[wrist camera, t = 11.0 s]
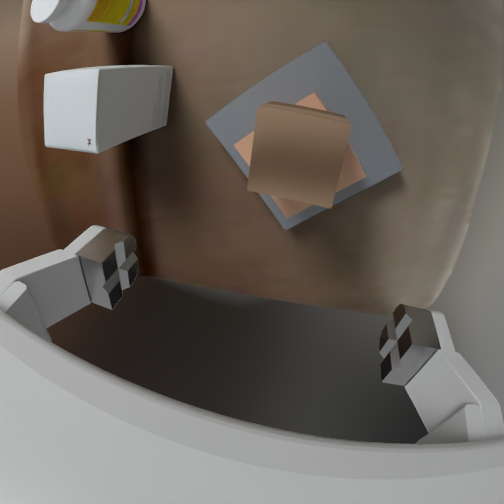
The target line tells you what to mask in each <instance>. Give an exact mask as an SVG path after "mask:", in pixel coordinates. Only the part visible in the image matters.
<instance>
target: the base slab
mask: <svg viewBox="0 0 504 504" xmlns="http://www.w3.org/2000/svg"><path fill="white" fill-rule="evenodd" d="M314 91H317V93H318V94H319V96H320V97H321V98H322V100H323V101H324V103H325V104H326V106H327V107H328V109H329V110H330V112H333V113H337V114H341V115H345V117H346V118H347V120H348V121H349V122H350V124H351V129H350V134H349V138H348V140H349V142H350V144H351V145H352V147H353V149H354V150H355V152H356V154H357V156H358V158H359V160H360V163H361V165H362V167H363V170H364V172H365V174H366V177H365V178H363V179H361V180H359V181H357V182H355V183H353V184H352V185H350V186H348V187H346V188H344V189H342V190H340V191H338V192H336V193H335V197H334V200H333V204H332V206H334V205H336V204H338V203H339V202H341V201H343V200H345V199H347V198H349V197H351V196H353V195H355V194H357V193H359V192H361V191H363V190H365V189H367V188H368V187H370V186H372V185H374V184H376V183H378V182H380V181H382V180H384V179H386V178H388V177H390V176H392V175H394V174H396V173H398V172H399V171H401V170H403V169H404V168H403V166H402V164H401V162H400V160H399V158H398V156H397V154H396V152H395V150H394V148H393V146H392V144H391V143H390V141H389V139H388V137H387V135H386V133H385V131H384V130H383V128H382V126H381V124H380V123H379V121H378V119H377V117H376V116H375V114H374V112H373V110H372V109H371V107H370V106H369V104H368V102H367V101H366V99H365V97H364V96H363V94H362V93H361V91H360V90H359V88H358V86H357V85H356V83H355V82H354V80H353V79H352V77H351V76H350V74H349V73H348V71H347V70H346V69H345V67H344V66H343V64H342V63H341V61H340V60H339V59H338V57H337V56H336V55H335V53H334V52H333V50H332V49H331V48H330V46H329V45H328V44H327V43H326V41H325V42H323V43H321V44H320V45H318V46H316V47H314V48H313V49H311V50H309V51H307V52H306V53H304V54H302V55H301V56H299V57H297V58H296V59H294V60H292V61H291V62H289V63H288V64H286V65H284V66H283V67H281V68H280V69H278V70H277V71H275V72H274V73H272V74H271V75H269V76H268V77H266V78H265V79H263V80H262V81H260V82H259V83H257V84H256V85H254V86H253V87H251V88H250V89H249V90H247V91H246V92H244V93H243V94H241V95H240V96H239V97H237V98H236V99H235V100H233V101H232V102H230V103H229V104H228V105H226V106H225V107H224V108H222V109H221V110H220V111H219V112H217V113H216V114H215V115H213V116H212V117H211V118H209V119H208V120H207V121H206V122H205V123H206V124H207V125H208V127H209V128H210V129H211V130H212V132H213V133H214V134H215V136H216V137H217V138H218V140H219V141H220V142H221V144H222V145H223V146H224V147H225V149H226V150H227V151H228V153H229V154H230V155H231V157H232V158H233V159H234V161H235V162H236V163H237V165H238V166H239V167H240V169H241V170H242V171H243V173H244V174H245V176H246V177H247V178H248V177H249V169H250V167H249V165H248V164H247V162H246V161H245V160H244V158H243V157H242V156H241V154H240V153H239V152H238V150H237V149H236V148H235V146H234V144H235V143H237V142H238V141H239V140H241V139H242V138H243V137H245V136H246V135H247V134H249V133H250V132H252V131H253V130H254V129H255V123H256V115H257V108H258V106H260V105H263V104H265V103H268V102H270V101H277V102H283V103H289V104H294V103H296V102H298V101H299V100H301V99H303V98H304V97H306V96H308V95H309V94H311V93H313V92H314ZM259 195H260V196H261V197H262V199H263V200H264V202H265V203H266V204H267V206H268V207H269V208H270V210H271V211H272V213H273V214H274V215H275V217H276V218H277V220H278V221H279V222H280V224H281V225H282V227H283V228H284V230H287V229H289V228H291V227H293V226H295V225H297V224H299V223H301V222H303V221H305V220H307V219H309V218H310V217H312V216H314V215H316V214H318V213H320V212H322V211H324V210H326V209H328V208H325V207H321V206H317V205H312V206H310V207H308V208H306V209H304V210H302V211H301V212H299V213H297V214H295V215H293V216H291V217H289V218H286V217H285V215H284V214H283V213H282V211H281V210H280V208H279V207H278V205H277V204H276V203H275V201H274V200H273V198H272V197H271V196H270V195H267V194H262V193H259Z"/></svg>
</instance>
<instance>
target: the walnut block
mask: <svg viewBox="0 0 504 504" xmlns="http://www.w3.org/2000/svg"><path fill="white" fill-rule="evenodd" d="M350 129H351V124H350V122H349V121H348V120H347V118H346V117H345V115H341V114H337V113H333V112H329V111H324V110H320V109H315V108H310V107H305V106H300V105H295V104H289V103H283V102H277V101H270V102H268V103H265V104H263V105H260V106H258V108H257V115H256V123H255V130H254V138H253V146H252V153H251V161H250V169H249V177H248V185H247V191H252V192H257V193H262V194H267V195H271V196H276V197H281V198H286V199H290V200H295V201H299V202H304V203H308V204H312V205H317V206H321V207H325V208H330V209H331V208H332V204H333V200H334V197H335V193H336V189H337V185H338V181H339V177H340V173H341V169H342V164H343V160H344V156H345V152H346V147H347V143H348V138H349V134H350Z"/></svg>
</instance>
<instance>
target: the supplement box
mask: <svg viewBox="0 0 504 504" xmlns="http://www.w3.org/2000/svg"><path fill="white" fill-rule="evenodd" d="M172 75H173V66H158V65H114V66H99V67H88V68H79V69H71V70H65V71H59V72H54V73H49V74H45V80H44V131H45V146H46V147H52V148H61V149H68V150H77V151H84V152H91V153H96V154H98V153H100V152H102V151H105V150H107V149H109V148H111V147H113V146H116V145H118V144H120V143H123V142H125V141H127V140H130V139H132V138H135V137H137V136H140V135H142V134H145V133H147V132H150V131H153V130H156V129H158V128H161V127H163V126H166V125H167V117H168V107H169V99H170V91H171V83H172Z"/></svg>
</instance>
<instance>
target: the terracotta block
mask: <svg viewBox="0 0 504 504" xmlns="http://www.w3.org/2000/svg"><path fill="white" fill-rule="evenodd" d="M294 104H295V105H300V106H305V107H310V108H315V109H320V110H324V111H329V112H330V110H329V109H328V107H327V106H326V104H325V103H324V101H323V100H322V98H321V97H320V96H319V94H318V93H317V91H314V92H313V93H311V94H309V95H308V96H306V97H304V98H303V99H301V100H299V101H298V102H296V103H294ZM254 130H255V129H254ZM254 130H253V131H252V132H250V133H249V134H247V135H246V136H245V137H243V138H242V139H241V140H239V141H238V142H237V143H235V144H234V146H235V148H236V149H237V150H238V152H239V153H240V154H241V156H242V157H243V158H244V160H245V161H246V162H247V164H248V165H249V167H250V161H251V153H252V146H253V138H254ZM365 177H366V174H365V172H364V170H363V167H362V165H361V163H360V160H359V158H358V156H357V154H356V152H355V150H354V149H353V147H352V145H351V144H350V142H349V140H348V143H347V147H346V152H345V156H344V160H343V164H342V169H341V173H340V177H339V181H338V185H337V189H336V192H338V191H340V190H342V189H344V188H346V187H348V186H350V185H352V184H353V183H355V182H357V181H359V180H361V179H363V178H365ZM270 196H271V195H270ZM271 197H272V198H273V200H274V201H275V203H276V204H277V205H278V207H279V208H280V210H281V211H282V213H283V214H284V215H285V217H286V218H289V217H291V216H293V215H295V214H297V213H299V212H301V211H302V210H304V209H306V208H308V207H310V206H312V204H308V203H304V202H299V201H295V200H290V199H286V198H281V197H276V196H271Z"/></svg>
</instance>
